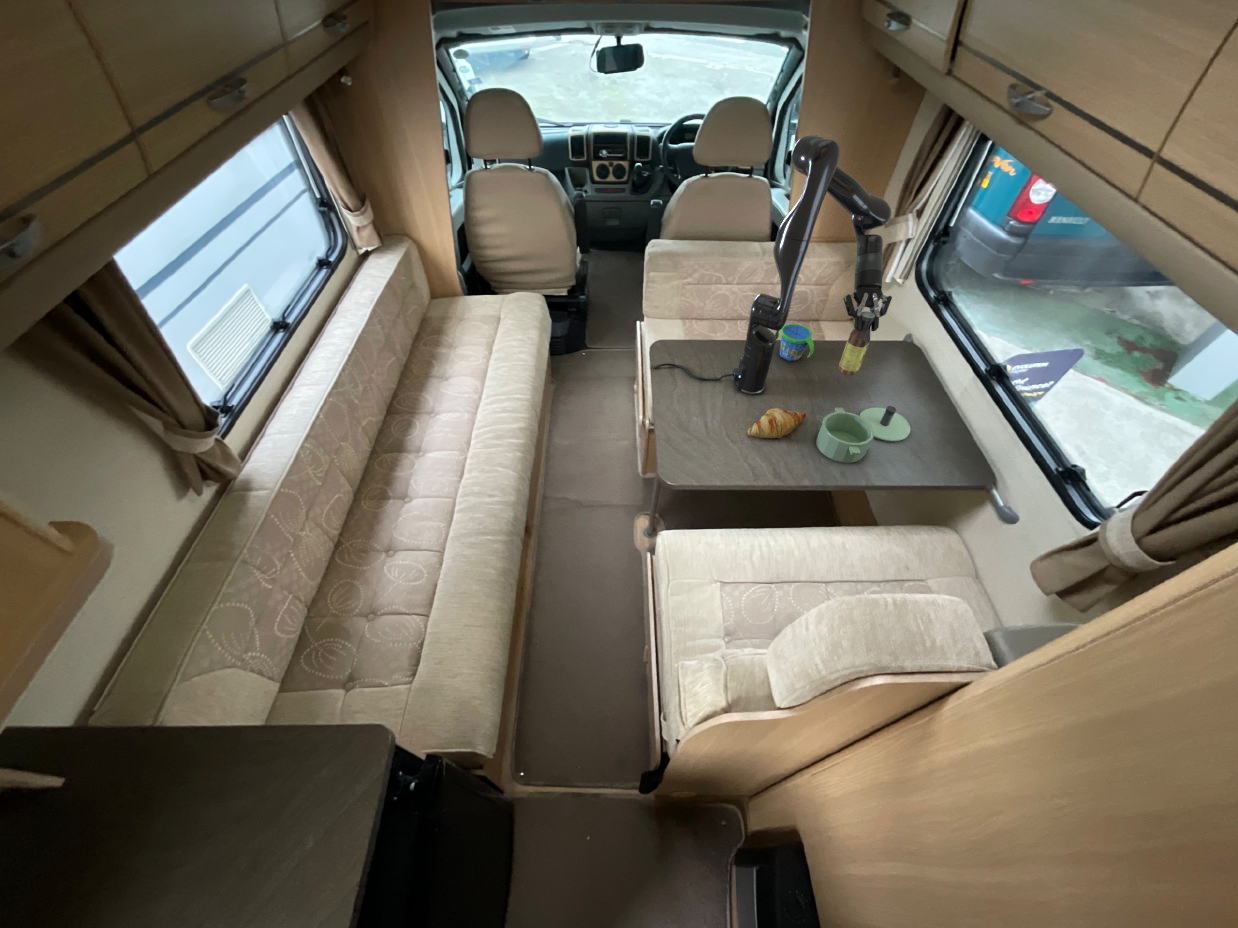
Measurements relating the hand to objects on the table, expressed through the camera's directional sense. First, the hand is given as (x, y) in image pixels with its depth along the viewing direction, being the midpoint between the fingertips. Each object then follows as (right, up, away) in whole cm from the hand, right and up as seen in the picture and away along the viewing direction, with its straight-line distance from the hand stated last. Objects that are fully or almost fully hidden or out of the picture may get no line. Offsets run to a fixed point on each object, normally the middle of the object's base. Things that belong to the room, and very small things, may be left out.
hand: (866, 330), depth 165 cm
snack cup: (-11, 0, +39) cm, 40 cm away
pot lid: (+11, -27, +12) cm, 32 cm away
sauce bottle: (0, -10, +13) cm, 16 cm away
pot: (-5, -34, +5) cm, 35 cm away
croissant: (-24, -29, +11) cm, 39 cm away
